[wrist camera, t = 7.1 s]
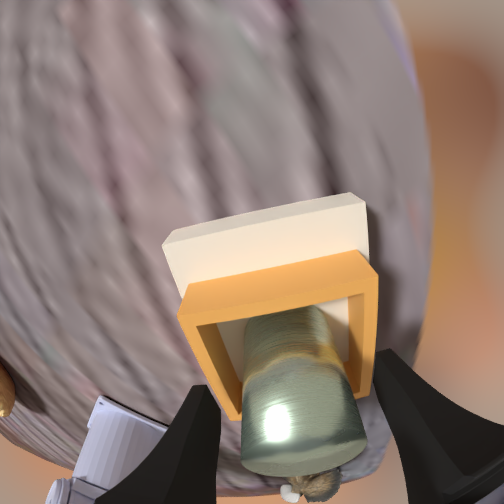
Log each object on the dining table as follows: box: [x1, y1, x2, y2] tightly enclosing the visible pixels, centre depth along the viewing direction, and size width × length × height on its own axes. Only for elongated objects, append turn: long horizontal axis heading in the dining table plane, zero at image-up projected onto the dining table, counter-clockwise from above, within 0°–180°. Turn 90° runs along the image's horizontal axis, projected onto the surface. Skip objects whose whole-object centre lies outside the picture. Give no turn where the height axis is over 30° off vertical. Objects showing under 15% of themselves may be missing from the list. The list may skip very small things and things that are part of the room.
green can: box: [241, 305, 367, 477], centre depth 10 cm, size 4×4×7 cm
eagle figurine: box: [281, 469, 343, 503], centre depth 22 cm, size 8×7×9 cm
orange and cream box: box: [162, 192, 378, 421], centre depth 13 cm, size 12×9×4 cm
